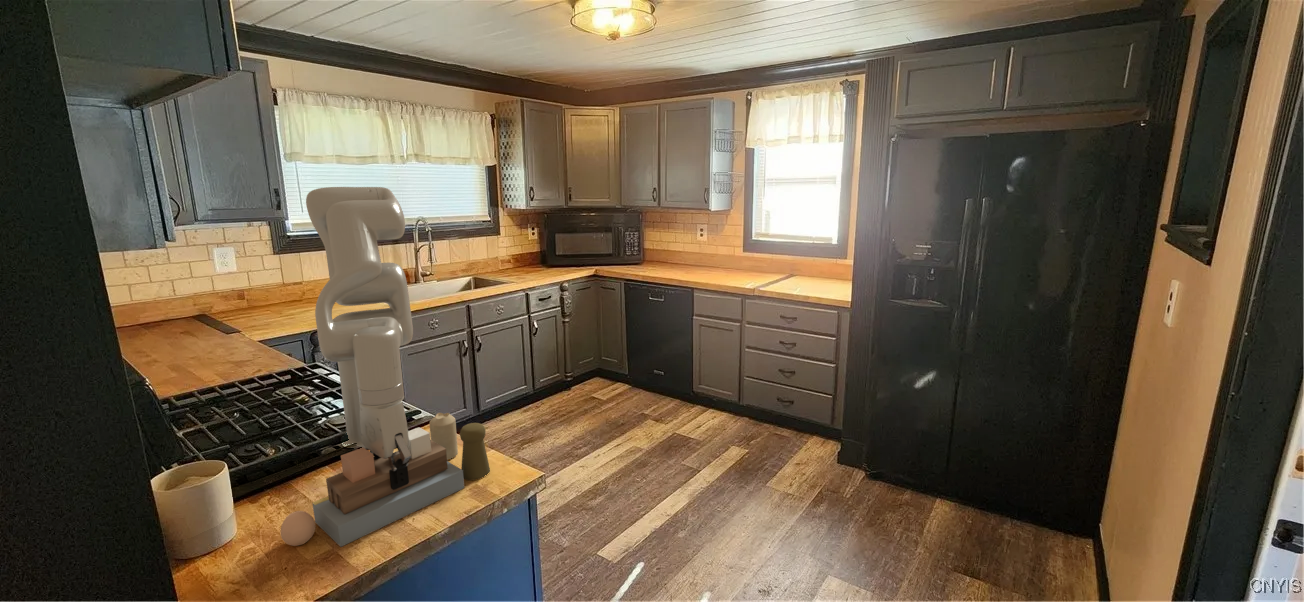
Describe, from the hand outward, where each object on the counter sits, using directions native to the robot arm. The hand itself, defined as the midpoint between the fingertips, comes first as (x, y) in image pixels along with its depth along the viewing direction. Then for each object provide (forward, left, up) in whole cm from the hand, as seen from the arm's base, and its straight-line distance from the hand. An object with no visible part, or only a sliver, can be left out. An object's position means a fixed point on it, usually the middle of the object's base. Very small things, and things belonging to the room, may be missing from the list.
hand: (390, 479), depth 106 cm
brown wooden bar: (0, 0, -1) cm, 1 cm away
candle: (-10, +17, -6) cm, 20 cm away
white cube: (0, +5, +3) cm, 6 cm away
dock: (0, 0, -5) cm, 5 cm away
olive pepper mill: (+2, +17, -6) cm, 18 cm away
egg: (-1, -16, -6) cm, 17 cm away
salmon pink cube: (0, -6, +3) cm, 6 cm away
